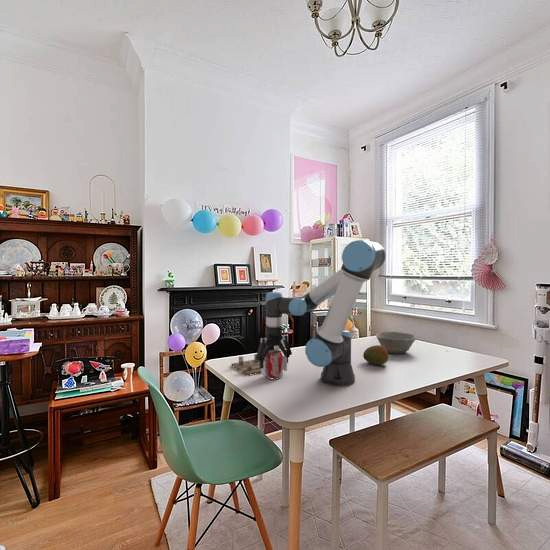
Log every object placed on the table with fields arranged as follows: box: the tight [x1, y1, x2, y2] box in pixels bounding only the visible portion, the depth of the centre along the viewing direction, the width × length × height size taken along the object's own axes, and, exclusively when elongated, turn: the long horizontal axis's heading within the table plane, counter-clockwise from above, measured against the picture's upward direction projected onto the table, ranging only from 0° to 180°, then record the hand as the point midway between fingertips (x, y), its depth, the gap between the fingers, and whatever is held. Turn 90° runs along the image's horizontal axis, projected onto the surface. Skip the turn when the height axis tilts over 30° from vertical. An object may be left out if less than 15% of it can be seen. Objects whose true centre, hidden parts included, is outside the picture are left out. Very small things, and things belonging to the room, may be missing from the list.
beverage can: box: [265, 349, 284, 380], centre depth 153 cm, size 8×8×12 cm
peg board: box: [230, 353, 266, 376], centre depth 166 cm, size 18×16×5 cm
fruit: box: [362, 344, 389, 366], centre depth 172 cm, size 12×13×10 cm
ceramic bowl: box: [375, 331, 418, 355], centre depth 195 cm, size 22×23×10 cm
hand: (274, 372), depth 153 cm, fingers open, 11 cm apart
